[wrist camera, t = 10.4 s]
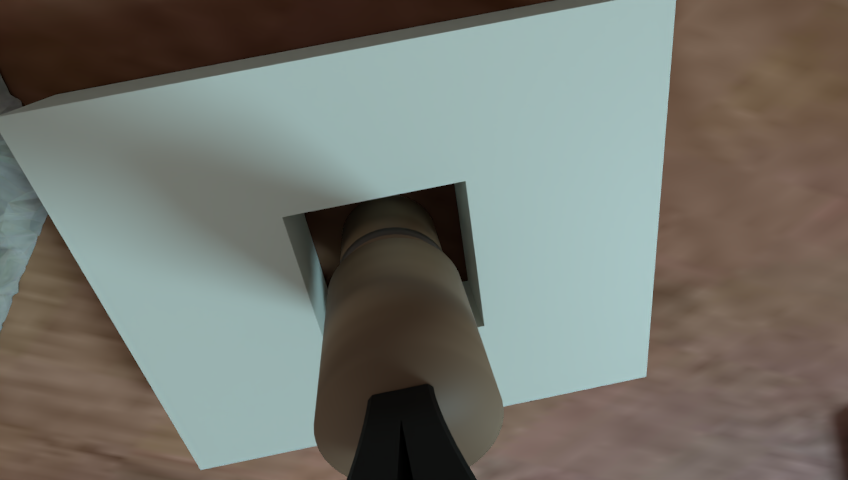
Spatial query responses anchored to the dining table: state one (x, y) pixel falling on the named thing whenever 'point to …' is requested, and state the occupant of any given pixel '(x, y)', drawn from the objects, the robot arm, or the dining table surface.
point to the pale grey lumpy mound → (15, 215)
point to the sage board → (360, 181)
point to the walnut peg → (400, 333)
